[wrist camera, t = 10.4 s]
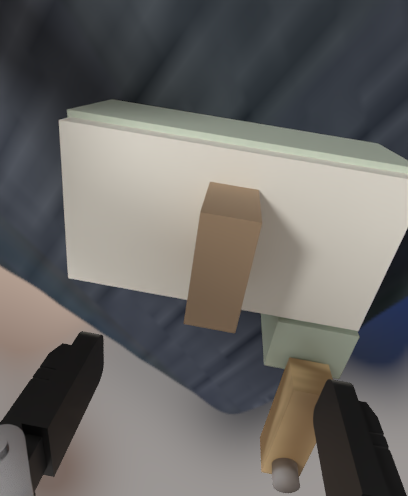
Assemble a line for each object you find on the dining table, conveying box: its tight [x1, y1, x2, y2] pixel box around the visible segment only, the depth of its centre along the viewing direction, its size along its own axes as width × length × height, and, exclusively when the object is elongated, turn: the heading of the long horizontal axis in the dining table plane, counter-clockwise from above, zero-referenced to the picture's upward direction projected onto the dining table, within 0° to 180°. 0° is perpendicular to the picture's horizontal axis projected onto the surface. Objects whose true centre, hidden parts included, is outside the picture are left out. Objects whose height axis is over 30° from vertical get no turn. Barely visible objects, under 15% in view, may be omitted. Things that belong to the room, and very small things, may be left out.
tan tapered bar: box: [260, 357, 333, 493], centre depth 26 cm, size 3×10×4 cm, turn 172°
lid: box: [59, 117, 408, 333], centre depth 21 cm, size 22×11×6 cm, turn 82°
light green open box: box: [67, 99, 408, 379], centre depth 27 cm, size 22×16×10 cm
